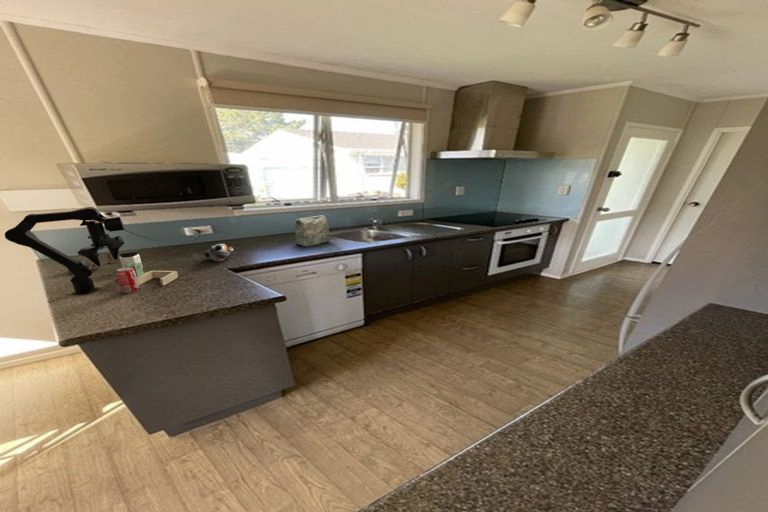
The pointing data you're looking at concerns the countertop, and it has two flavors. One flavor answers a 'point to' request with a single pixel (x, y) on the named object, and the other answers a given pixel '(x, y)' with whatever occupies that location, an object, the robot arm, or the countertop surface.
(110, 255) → the place setting
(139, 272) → the coffee maker
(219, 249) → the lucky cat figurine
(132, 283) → the soda can
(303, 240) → the lunch bag
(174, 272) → the tray
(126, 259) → the jar
